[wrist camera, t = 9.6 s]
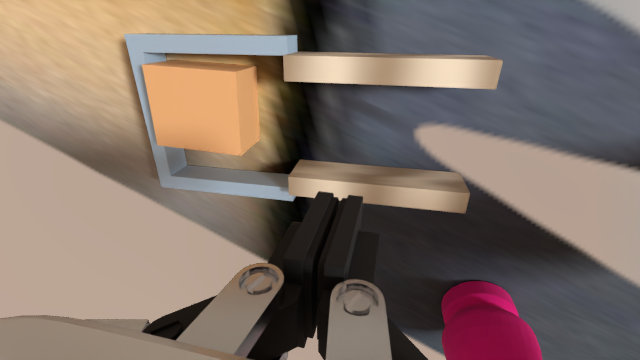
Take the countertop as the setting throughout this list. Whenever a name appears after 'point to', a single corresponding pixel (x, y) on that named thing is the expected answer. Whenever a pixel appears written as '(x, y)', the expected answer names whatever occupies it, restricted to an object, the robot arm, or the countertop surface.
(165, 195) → the countertop surface
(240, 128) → the block
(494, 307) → the pepper mill
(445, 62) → the pair of wooden slats
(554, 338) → the countertop surface
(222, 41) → the bay
